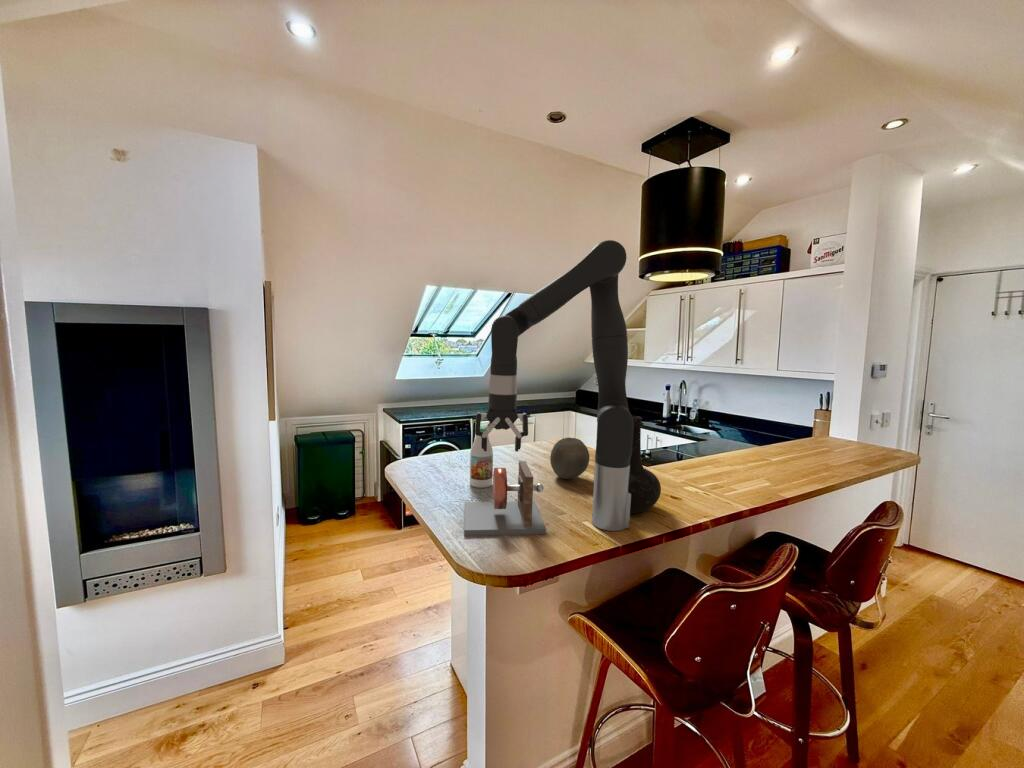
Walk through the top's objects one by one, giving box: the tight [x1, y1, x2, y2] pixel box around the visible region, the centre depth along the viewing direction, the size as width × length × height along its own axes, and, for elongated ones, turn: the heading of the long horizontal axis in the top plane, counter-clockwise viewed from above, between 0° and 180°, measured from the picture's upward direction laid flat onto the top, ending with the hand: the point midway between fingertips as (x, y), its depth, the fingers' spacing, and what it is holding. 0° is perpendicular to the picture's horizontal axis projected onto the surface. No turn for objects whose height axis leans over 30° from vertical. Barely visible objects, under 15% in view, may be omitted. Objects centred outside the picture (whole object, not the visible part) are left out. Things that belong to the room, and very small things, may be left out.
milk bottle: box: [469, 425, 494, 489], centre depth 140 cm, size 8×8×20 cm
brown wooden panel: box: [517, 460, 534, 525], centre depth 114 cm, size 3×14×13 cm, turn 6°
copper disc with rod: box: [492, 467, 545, 509], centre depth 114 cm, size 14×11×11 cm
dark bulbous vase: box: [628, 415, 662, 514], centre depth 124 cm, size 18×18×28 cm
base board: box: [463, 500, 547, 537], centre depth 114 cm, size 21×18×2 cm
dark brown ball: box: [549, 437, 591, 480], centre depth 149 cm, size 14×14×15 cm
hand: (500, 450), depth 112 cm, fingers open, 8 cm apart
